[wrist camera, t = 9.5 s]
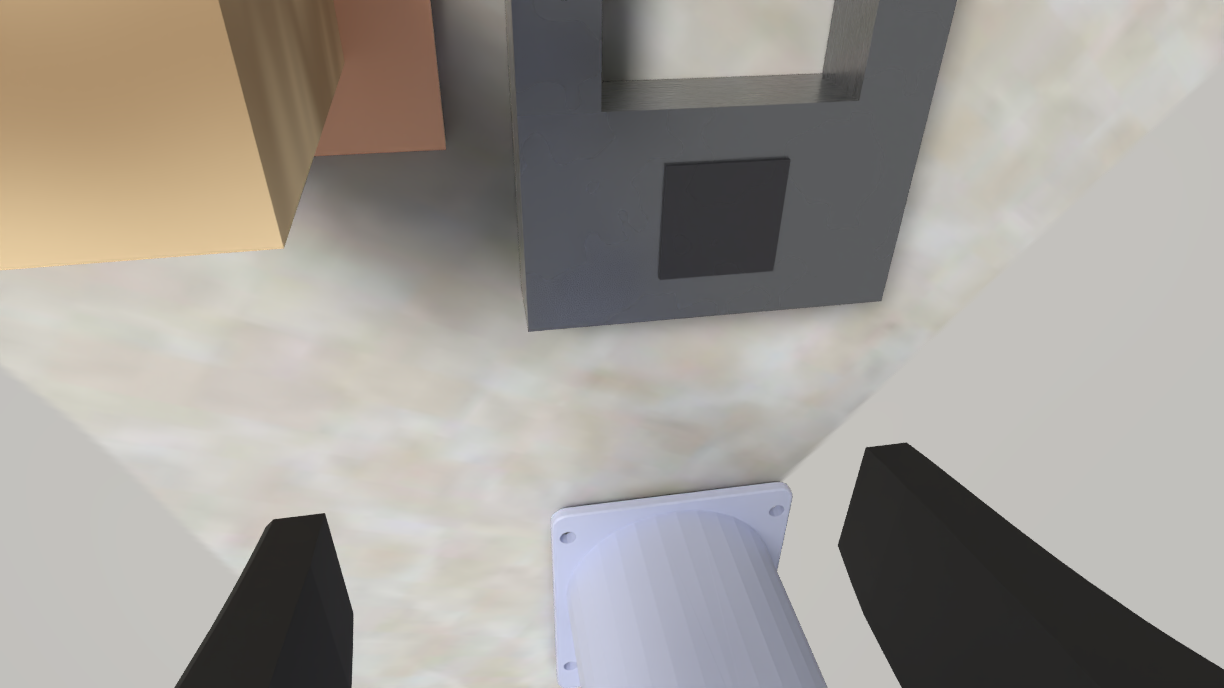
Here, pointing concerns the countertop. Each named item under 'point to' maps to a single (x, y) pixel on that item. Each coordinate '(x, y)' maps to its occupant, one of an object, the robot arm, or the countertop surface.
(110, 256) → the wooden peg
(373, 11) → the tile
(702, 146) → the square hole bar
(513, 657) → the countertop surface
